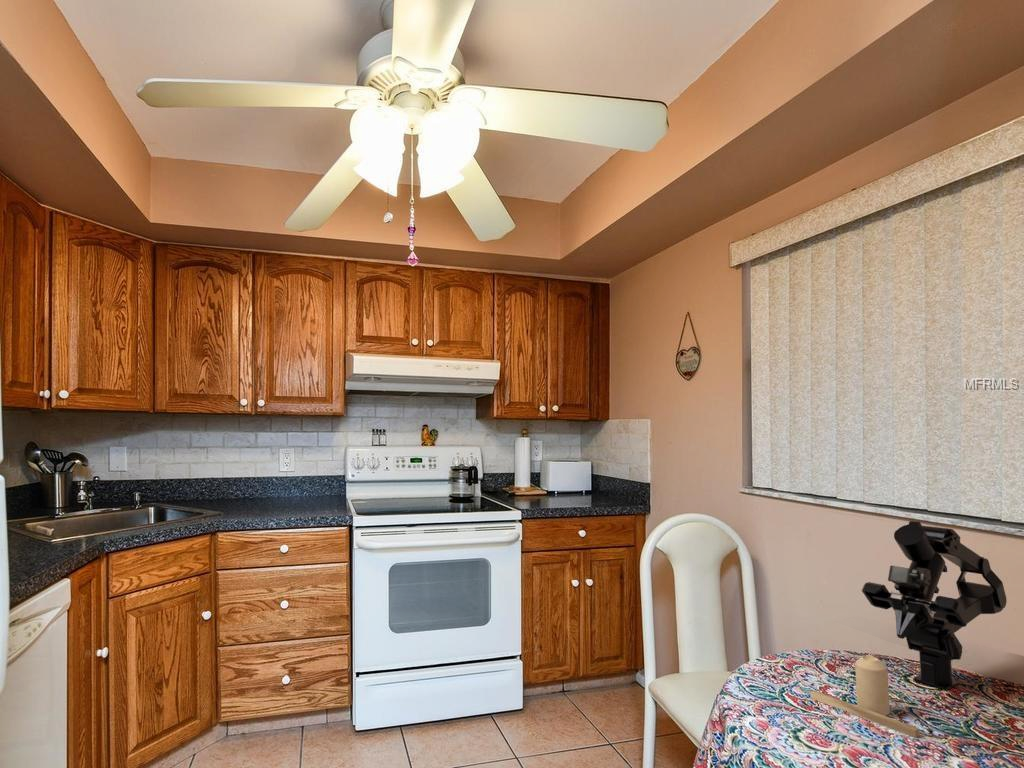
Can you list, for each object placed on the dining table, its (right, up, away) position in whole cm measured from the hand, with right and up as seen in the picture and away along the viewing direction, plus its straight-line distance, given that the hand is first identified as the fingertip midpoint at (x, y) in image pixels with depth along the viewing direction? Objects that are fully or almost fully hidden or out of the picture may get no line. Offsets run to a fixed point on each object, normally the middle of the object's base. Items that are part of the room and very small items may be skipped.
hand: (899, 637), depth 129 cm
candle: (-9, -12, -7) cm, 16 cm away
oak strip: (-13, -11, -9) cm, 19 cm away
